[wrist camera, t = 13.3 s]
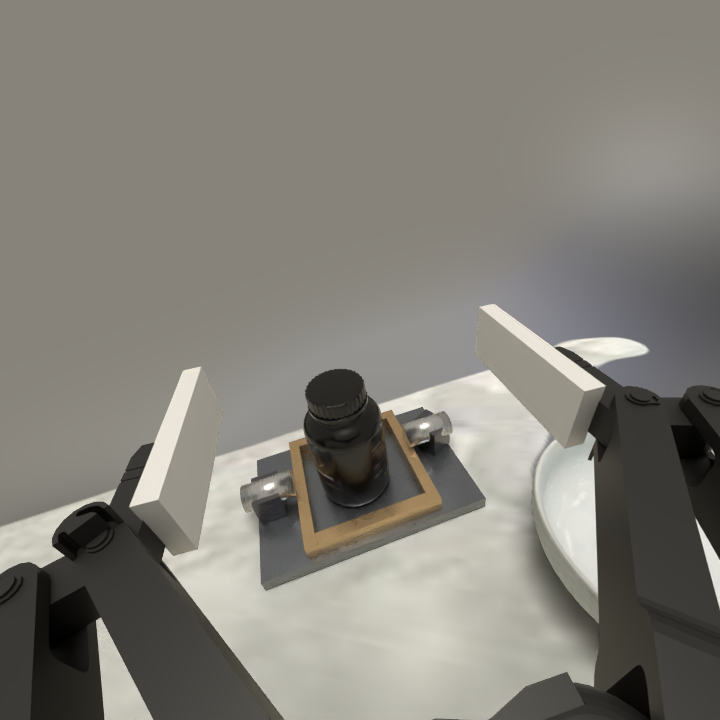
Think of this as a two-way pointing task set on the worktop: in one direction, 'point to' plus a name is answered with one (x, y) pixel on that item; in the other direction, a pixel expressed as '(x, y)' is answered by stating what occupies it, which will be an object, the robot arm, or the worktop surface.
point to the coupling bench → (361, 523)
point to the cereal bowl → (578, 521)
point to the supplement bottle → (346, 438)
